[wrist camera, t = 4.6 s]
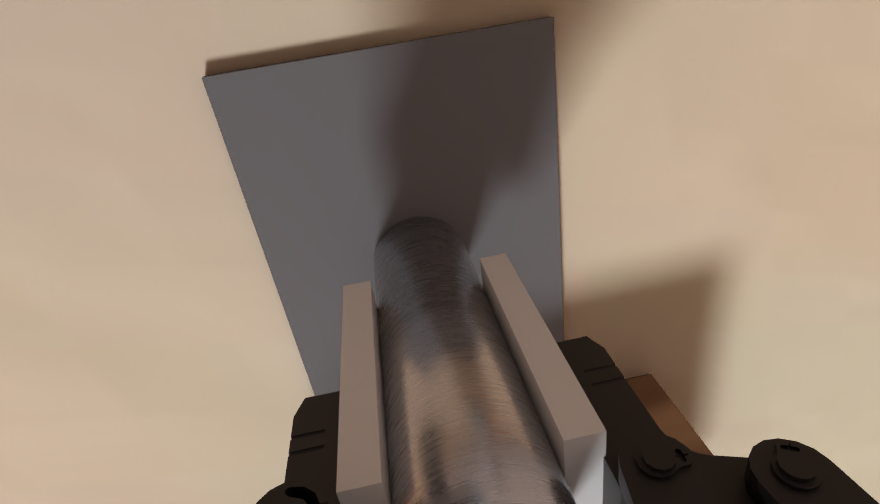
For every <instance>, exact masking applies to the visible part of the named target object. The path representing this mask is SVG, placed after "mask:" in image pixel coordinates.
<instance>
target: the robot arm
mask: <svg viewBox="0 0 880 504" xmlns="http://www.w3.org/2000/svg"><path fill="white" fill-rule="evenodd" d="M479 259H480V267H481V275H482V283H483V288H484V291H485V293H486V295H487V298H488V300H489V302H490V305H491V307H492V309H493V312H494V314H495V316H496V319H497V321H498V323H499V326H500V328H501V330H502V332H503V335H504V337H505V339H506V342H507V344H508V346H509V349H510V351H511V353H512V356H513V358H514V360H515V363H516V365H517V367H518V370H519V372H520V374H521V377H522V379H523V381H524V384H525V386H526V388H527V391H528V393H529V395H530V397H531V400H532V402H533V404H534V407H535V409H536V411H537V414H538V416H539V418H540V421H541V423H542V425H543V428H544V430H545V432H546V435H547V437H548V439H549V442H550V444H551V446H552V449H553V451H554V453H555V456H556V458H557V460H558V462H559V465H560V467H561V469H562V472H563V474H564V476H565V479H566V481H567V483H568V486H569V488H570V490H571V493H572V495H573V497H574V500H575V502H576V504H879V503H878V502H877V501H876V500H874V499H873V498H872V497H871V496H870V495H869V494H868V493H867V492H865V491H864V490H863V489H862V488H861V487H860V486H859V485H858V484H856V483H855V482H854V481H853V480H852V479H851V478H850V477H849V476H847V475H846V474H845V473H844V472H843V471H842V470H841V469H840V468H838V467H837V466H836V465H835V464H834V463H833V462H832V461H831V460H829V459H828V458H827V457H825V456H824V455H822V454H821V453H819V452H818V451H817V450H815V449H814V448H811V447H809V446H806V445H804V444H801V443H799V442H796V441H791V440H785V439H779V438H778V439H770V440H763V441H762V442H760V443H758V444H757V445H755V446H753V448H752V450H751V453H750V455H749V457H748V458H744V457H729V456H713V455H706V454H700V453H697V452H694V451H691V450H690V449H689V448H688V447H687V446H685V445H684V444H682V443H681V442H679V441H678V440H676V439H675V438H672V437H669V436H667V435H665V434H664V433H663V432H662V430H661V429H660V428H659V427H658V425H657V424H656V422H655V421H654V419H653V418H652V417H651V415H650V414H649V412H648V411H647V409H646V408H645V406H644V405H643V404H642V402H641V401H640V399H639V398H638V396H637V395H636V393H635V392H634V391H633V389H632V388H631V386H630V385H629V383H628V382H627V380H625V379H624V376H623V375H622V373H621V372H620V370H619V369H618V368H617V367H616V366H615V363H614V362H613V360H612V359H611V357H610V356H609V355H608V353H607V352H606V350H605V349H604V348H603V347H602V346H600V345H599V344H597V343H596V342H594V341H593V340H591V339H590V338H588V337H587V336H585V337H581V338H576V339H571V340H567V341H562V342H557V343H556V341H555V340H554V338H553V336H552V334H551V332H550V331H549V329H548V327H547V325H546V324H545V322H544V320H543V318H542V317H541V315H540V313H539V311H538V310H537V308H536V306H535V304H534V303H533V301H532V299H531V297H530V296H529V294H528V292H527V290H526V289H525V287H524V285H523V283H522V282H521V280H520V278H519V276H518V275H517V273H516V271H515V269H514V267H513V266H512V264H511V262H510V260H509V259H508V257H507V255H506V253H504V254H499V255H494V256H489V257H484V258H479ZM291 439H292V440H290V448H289V457H288V462H287V469H286V476H285V483H283V484H281V485H279V486H277V487H275V488H274V489H272V490H270V491H269V492H268V493H267V494H265V495H264V496H263V497H262V498H261V499H260V500H259V501H258V502H257V503H256V504H391V490H390V477H389V463H388V449H387V435H386V421H385V407H384V394H383V380H382V366H381V352H380V338H379V325H378V311H377V305H376V301H375V297H374V293H373V289H372V285H371V281H365V282H360V283H355V284H350V285H345V286H343V314H342V342H341V370H340V391H336V392H332V393H327V394H323V395H318V396H313V397H309V398H305V399H304V401H303V403H302V404H301V406H300V408H299V409H298V411H297V413H296V414H295V416H294V419H293V426H292V433H291Z"/></svg>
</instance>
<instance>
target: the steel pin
mask: <svg viewBox="0 0 880 504" xmlns="http://www.w3.org/2000/svg"><path fill="white" fill-rule="evenodd" d="M374 273H375V287H376V301H377V311H378V325H379V338H380V352H381V366H382V380H383V394H384V407H385V421H386V435H387V449H388V463H389V477H390V490H391V504H576V502H575V500H574V497H573V495H572V493H571V490H570V488H569V486H568V483H567V481H566V479H565V476H564V474H563V472H562V469H561V467H560V465H559V462H558V460H557V458H556V456H555V453H554V451H553V449H552V446H551V444H550V442H549V439H548V437H547V435H546V432H545V430H544V428H543V425H542V423H541V421H540V418H539V416H538V414H537V411H536V409H535V407H534V404H533V402H532V400H531V397H530V395H529V393H528V391H527V388H526V386H525V384H524V381H523V379H522V377H521V374H520V372H519V370H518V367H517V365H516V363H515V360H514V358H513V356H512V353H511V351H510V349H509V346H508V344H507V342H506V339H505V337H504V335H503V332H502V330H501V328H500V326H499V323H498V321H497V319H496V316H495V314H494V312H493V309H492V307H491V305H490V302H489V300H488V298H487V295H486V293H485V291H484V288H483V286H482V284H481V281H480V279H479V277H478V274H477V272H476V270H475V267H474V265H473V263H472V261H471V258H470V256H469V254H468V251H467V249H466V247H465V244H464V242H463V240H462V238H461V236H460V235H459V233H458V232H457V231H456V230H455V229H454V228H453V227H452V226H450V225H449V224H447V223H446V222H444V221H441V220H439V219H435V218H431V217H415V218H410V219H406V220H404V221H401V222H399V223H397V224H395V225H394V226H393V227H391V228H390V229H389V230H388V231H386V232H385V234H384V235H383V236H382V237H381V239H380V240H379V242H378V244H377V246H376V249H375V253H374Z"/></svg>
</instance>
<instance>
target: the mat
mask: <svg viewBox="0 0 880 504" xmlns="http://www.w3.org/2000/svg"><path fill="white" fill-rule="evenodd" d="M202 80H203V83H204V86H205V88H206V91H207V94H208V97H209V100H210V102H211V105H212V108H213V111H214V114H215V116H216V119H217V122H218V125H219V128H220V131H221V133H222V136H223V139H224V142H225V145H226V147H227V150H228V153H229V156H230V159H231V161H232V164H233V167H234V170H235V173H236V175H237V178H238V181H239V184H240V187H241V189H242V192H243V195H244V198H245V201H246V203H247V206H248V209H249V212H250V215H251V217H252V220H253V223H254V226H255V229H256V231H257V234H258V237H259V240H260V243H261V245H262V248H263V251H264V254H265V257H266V260H267V262H268V265H269V268H270V271H271V274H272V276H273V279H274V282H275V285H276V288H277V290H278V293H279V296H280V299H281V302H282V304H283V307H284V310H285V313H286V316H287V318H288V321H289V324H290V327H291V330H292V332H293V335H294V338H295V341H296V344H297V346H298V349H299V352H300V355H301V358H302V360H303V363H304V366H305V369H306V372H307V374H308V377H309V380H310V383H311V386H312V389H313V391H314V394H315V396H318V395H323V394H327V393H332V392H336V391H340V370H341V342H342V314H343V286H345V285H350V284H355V283H360V282H365V281H371V285H372V289H373V293H374V297H375V301H376V287H375V273H374V253H375V249H376V246H377V244H378V242H379V240H380V239H381V237H382V236H383V235H384V234H385V232H386V231H388V230H389V229H390V228H391V227H393V226H394V225H395V224H397V223H399V222H401V221H404V220H406V219H410V218H415V217H431V218H435V219H439V220H441V221H444V222H446V223H447V224H449V225H450V226H452V227H453V228H454V229H455V230H456V231H457V232H458V233H459V235H460V236H461V238H462V240H463V242H464V244H465V247H466V249H467V251H468V254H469V256H470V258H471V261H472V263H473V265H474V267H475V270H476V272H477V274H478V277H479V279H480V281H481V284H482V286H483V283H482V275H481V267H480V259H479V258H484V257H489V256H494V255H499V254H504V253H506V255H507V257H508V259H509V260H510V262H511V264H512V266H513V267H514V269H515V271H516V273H517V275H518V276H519V278H520V280H521V282H522V283H523V285H524V287H525V289H526V290H527V292H528V294H529V296H530V297H531V299H532V301H533V303H534V304H535V306H536V308H537V310H538V311H539V313H540V315H541V317H542V318H543V320H544V322H545V324H546V325H547V327H548V329H549V331H550V332H551V334H552V336H553V338H554V340H555V341H556V343H557V342H562V341H564V330H563V299H562V268H561V237H560V206H559V175H558V144H557V113H556V81H555V50H554V19H553V17H546V18H540V19H534V20H528V21H522V22H516V23H511V24H505V25H499V26H493V27H487V28H482V29H476V30H470V31H464V32H458V33H452V34H447V35H441V36H435V37H429V38H423V39H418V40H412V41H406V42H400V43H394V44H388V45H383V46H377V47H371V48H365V49H359V50H354V51H348V52H342V53H336V54H330V55H325V56H319V57H313V58H307V59H301V60H295V61H290V62H284V63H278V64H272V65H266V66H261V67H255V68H249V69H243V70H237V71H231V72H226V73H220V74H214V75H208V76H204V77H202ZM376 305H377V301H376Z"/></svg>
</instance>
